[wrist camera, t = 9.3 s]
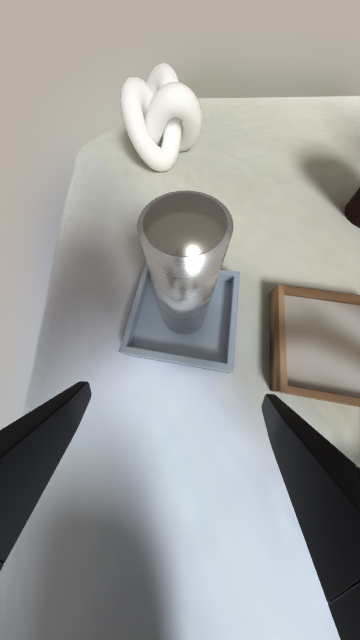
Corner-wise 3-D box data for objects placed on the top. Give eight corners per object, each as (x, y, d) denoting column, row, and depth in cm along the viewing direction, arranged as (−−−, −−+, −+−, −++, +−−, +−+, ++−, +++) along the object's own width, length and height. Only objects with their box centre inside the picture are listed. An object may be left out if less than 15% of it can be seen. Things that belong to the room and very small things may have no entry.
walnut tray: (390, 412, 17) (417, 416, 15) (270, 390, 18) (280, 391, 16) (368, 306, 20) (386, 299, 19) (270, 293, 21) (278, 284, 20)
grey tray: (228, 372, 18) (233, 371, 16) (125, 354, 19) (118, 351, 17) (235, 281, 22) (239, 272, 20) (149, 270, 23) (145, 259, 21)
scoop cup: (211, 326, 19) (251, 244, 8) (170, 340, 19) (151, 273, 8) (196, 290, 21) (210, 180, 10) (158, 302, 21) (126, 201, 9)
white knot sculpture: (169, 190, 28) (163, 108, 20) (114, 165, 31) (89, 83, 23) (206, 154, 32) (214, 70, 23) (153, 134, 34) (144, 52, 26)
